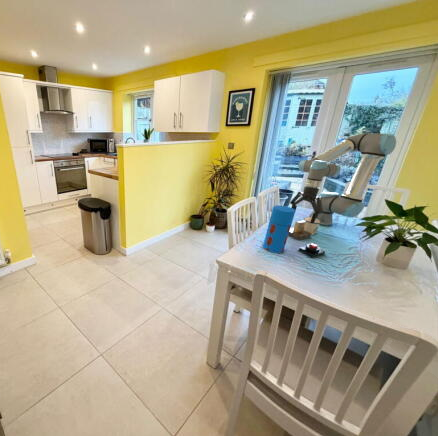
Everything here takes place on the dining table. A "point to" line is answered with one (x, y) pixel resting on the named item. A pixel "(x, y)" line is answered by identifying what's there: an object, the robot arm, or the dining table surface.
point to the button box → (311, 251)
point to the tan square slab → (299, 226)
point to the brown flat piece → (299, 234)
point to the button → (313, 245)
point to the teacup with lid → (311, 225)
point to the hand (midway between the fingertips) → (301, 218)
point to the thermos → (278, 228)
